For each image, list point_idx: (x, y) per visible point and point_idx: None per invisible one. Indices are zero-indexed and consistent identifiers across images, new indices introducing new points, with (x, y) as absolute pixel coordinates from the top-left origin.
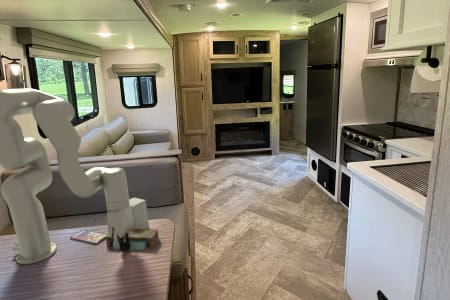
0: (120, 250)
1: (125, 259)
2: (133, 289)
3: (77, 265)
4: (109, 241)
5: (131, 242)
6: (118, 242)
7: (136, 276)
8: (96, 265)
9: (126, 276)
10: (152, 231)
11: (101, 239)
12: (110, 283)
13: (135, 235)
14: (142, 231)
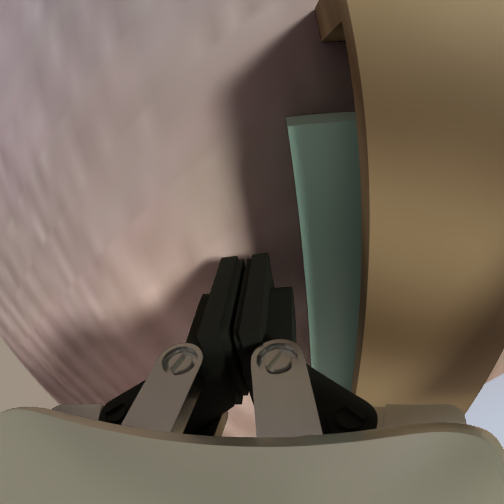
0: (223, 258)
1: (172, 315)
2: (66, 398)
3: (9, 29)
4: (339, 31)
5: (330, 333)
6: (314, 198)
7: (107, 396)
8: (39, 158)
9: (82, 367)
10: None
11: None
12: (25, 328)
13: (388, 383)
14: (452, 389)
